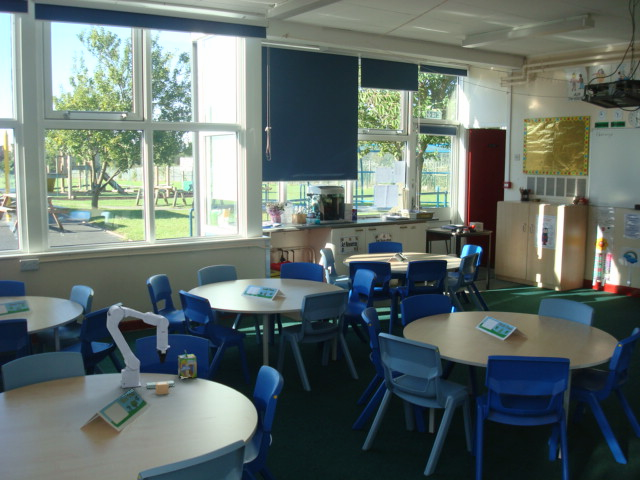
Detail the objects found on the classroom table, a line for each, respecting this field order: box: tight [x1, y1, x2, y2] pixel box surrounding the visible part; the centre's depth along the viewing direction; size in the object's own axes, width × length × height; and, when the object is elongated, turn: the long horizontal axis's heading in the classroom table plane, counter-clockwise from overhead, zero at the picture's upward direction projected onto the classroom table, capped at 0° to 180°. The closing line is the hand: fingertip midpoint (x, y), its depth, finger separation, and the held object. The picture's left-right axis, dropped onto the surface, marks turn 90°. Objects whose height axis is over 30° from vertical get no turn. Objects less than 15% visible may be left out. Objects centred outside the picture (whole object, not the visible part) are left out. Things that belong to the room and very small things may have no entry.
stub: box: [155, 381, 170, 395], centre depth 328 cm, size 6×5×5 cm
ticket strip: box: [145, 380, 175, 389], centre depth 338 cm, size 14×5×2 cm, turn 109°
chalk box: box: [177, 349, 198, 379], centre depth 356 cm, size 9×9×15 cm
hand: (162, 363), depth 347 cm, fingers closed
